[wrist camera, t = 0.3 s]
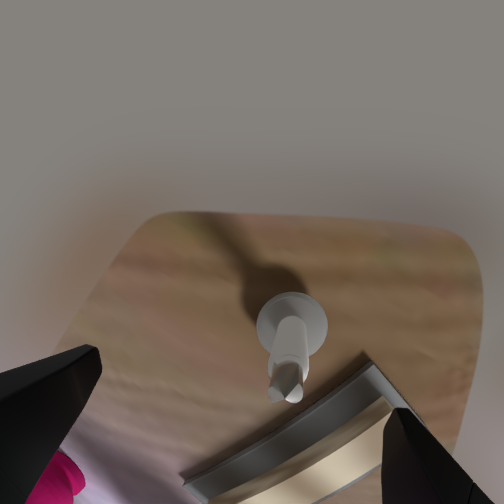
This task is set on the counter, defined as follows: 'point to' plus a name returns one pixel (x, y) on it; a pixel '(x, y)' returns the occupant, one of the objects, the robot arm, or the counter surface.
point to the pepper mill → (58, 482)
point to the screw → (290, 341)
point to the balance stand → (309, 449)
